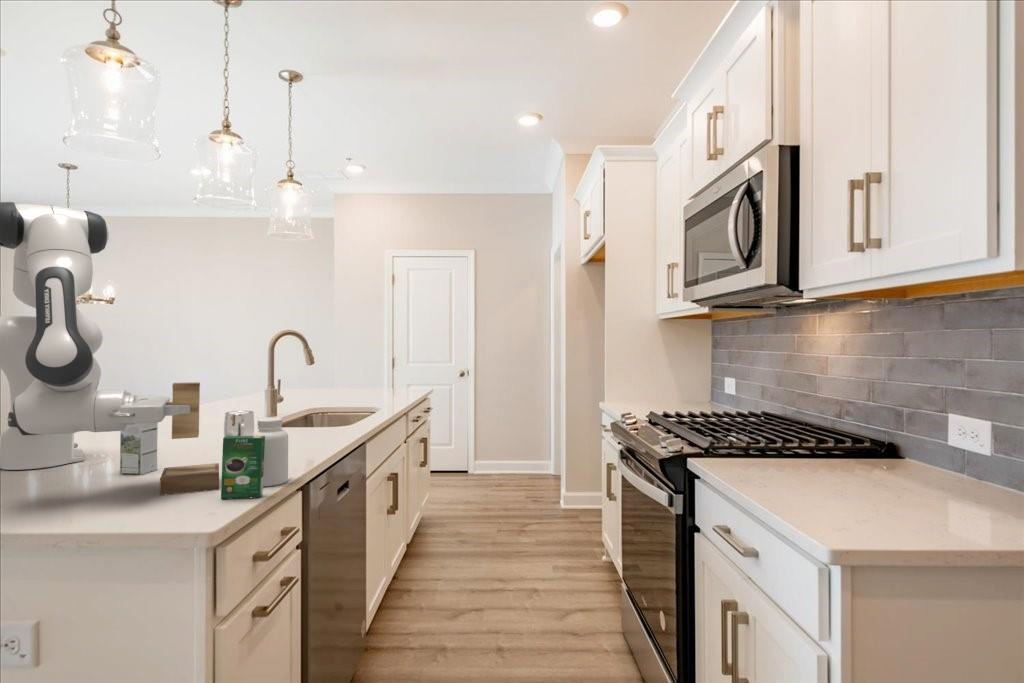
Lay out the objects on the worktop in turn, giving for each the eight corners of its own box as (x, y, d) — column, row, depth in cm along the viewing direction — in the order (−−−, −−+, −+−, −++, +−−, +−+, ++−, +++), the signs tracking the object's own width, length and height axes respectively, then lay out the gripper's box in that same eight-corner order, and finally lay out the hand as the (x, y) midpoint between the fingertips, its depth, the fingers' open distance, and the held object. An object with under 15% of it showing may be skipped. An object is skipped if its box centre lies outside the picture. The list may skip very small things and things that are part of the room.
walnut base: (164, 484, 122) (164, 467, 122) (218, 478, 127) (218, 462, 127) (160, 495, 113) (160, 476, 113) (218, 489, 118) (219, 471, 118)
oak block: (173, 435, 120) (174, 382, 120) (199, 434, 122) (200, 382, 123) (171, 439, 116) (172, 384, 116) (198, 437, 118) (199, 383, 119)
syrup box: (158, 469, 135) (159, 413, 135) (139, 475, 129) (140, 416, 129) (137, 469, 136) (138, 412, 136) (118, 474, 130) (119, 415, 130)
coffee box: (265, 494, 115) (265, 434, 115) (261, 498, 112) (262, 436, 112) (224, 496, 113) (225, 435, 113) (220, 500, 110) (221, 437, 110)
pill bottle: (252, 480, 127) (253, 417, 127) (288, 477, 129) (289, 416, 129) (248, 488, 119) (249, 422, 119) (287, 485, 122) (288, 421, 122)
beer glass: (259, 469, 136) (260, 412, 136) (232, 475, 131) (233, 414, 131) (243, 466, 140) (244, 409, 140) (217, 471, 134) (218, 412, 134)
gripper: (106, 400, 104) (188, 398, 111) (123, 391, 122) (193, 390, 129) (106, 432, 104) (188, 428, 111) (122, 419, 122) (192, 416, 129)
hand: (190, 407), depth 120 cm, fingers closed on oak block, 4 cm apart
